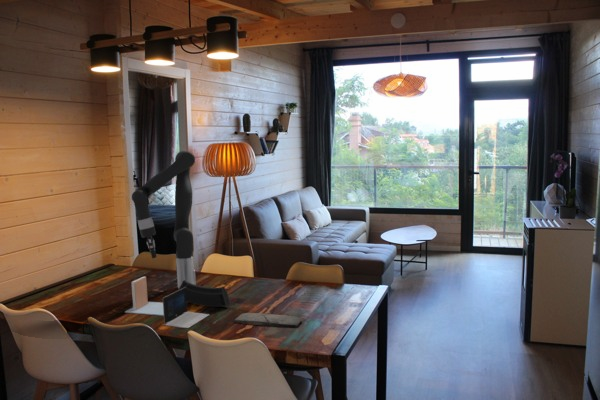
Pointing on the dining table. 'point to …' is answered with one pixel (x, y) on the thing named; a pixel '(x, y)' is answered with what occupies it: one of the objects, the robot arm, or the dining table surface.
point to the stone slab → (268, 320)
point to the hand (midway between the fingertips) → (154, 256)
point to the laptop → (179, 310)
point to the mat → (149, 309)
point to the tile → (139, 293)
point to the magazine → (206, 295)
